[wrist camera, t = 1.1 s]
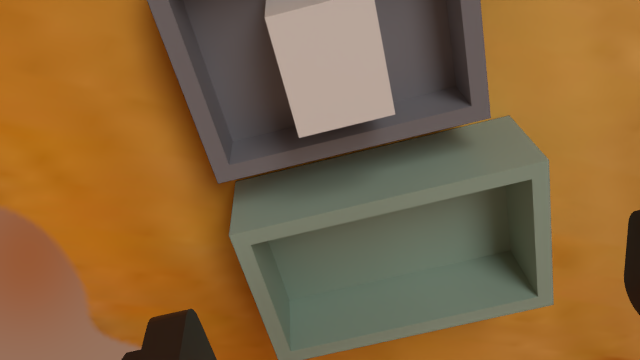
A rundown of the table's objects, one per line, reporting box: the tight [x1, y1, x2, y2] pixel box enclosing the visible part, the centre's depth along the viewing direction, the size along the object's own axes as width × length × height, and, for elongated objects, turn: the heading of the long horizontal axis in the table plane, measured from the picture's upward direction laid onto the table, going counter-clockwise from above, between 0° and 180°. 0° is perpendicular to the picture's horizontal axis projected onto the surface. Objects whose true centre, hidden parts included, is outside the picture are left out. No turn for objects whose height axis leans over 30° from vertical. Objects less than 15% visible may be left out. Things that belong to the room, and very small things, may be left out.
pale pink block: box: [265, 0, 395, 138], centre depth 24 cm, size 4×5×5 cm
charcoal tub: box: [147, 0, 491, 184], centre depth 25 cm, size 13×10×4 cm
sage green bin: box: [229, 116, 553, 360], centre depth 30 cm, size 15×9×5 cm, turn 103°
